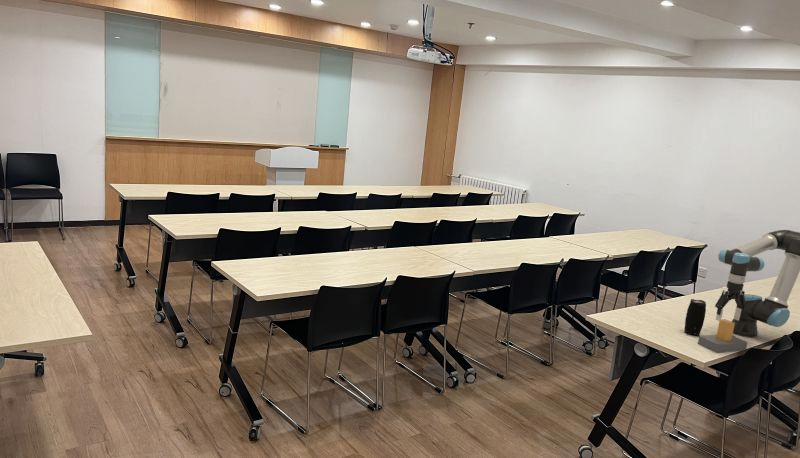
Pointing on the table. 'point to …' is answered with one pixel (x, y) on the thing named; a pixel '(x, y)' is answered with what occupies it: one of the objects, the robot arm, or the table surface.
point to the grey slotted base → (722, 344)
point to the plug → (725, 330)
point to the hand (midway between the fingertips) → (727, 320)
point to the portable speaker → (695, 317)
